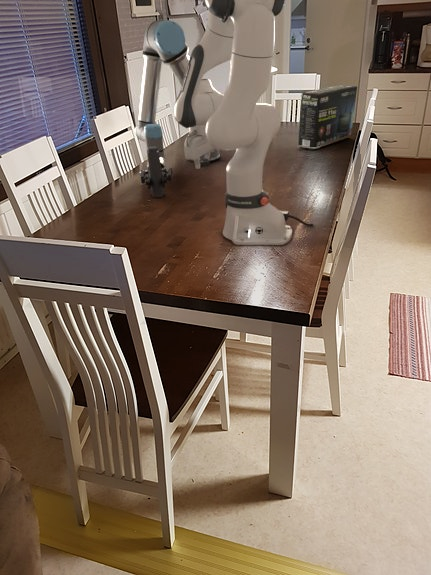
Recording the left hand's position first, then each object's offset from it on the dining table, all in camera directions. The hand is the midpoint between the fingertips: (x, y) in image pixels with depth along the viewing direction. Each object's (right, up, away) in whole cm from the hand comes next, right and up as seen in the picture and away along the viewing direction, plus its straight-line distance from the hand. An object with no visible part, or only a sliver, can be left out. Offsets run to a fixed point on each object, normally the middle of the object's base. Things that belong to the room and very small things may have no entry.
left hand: (156, 185), depth 176 cm
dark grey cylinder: (0, -3, +8) cm, 8 cm away
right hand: (+18, +6, -4) cm, 19 cm away
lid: (+18, +8, -5) cm, 20 cm away
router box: (+81, +38, +69) cm, 113 cm away
